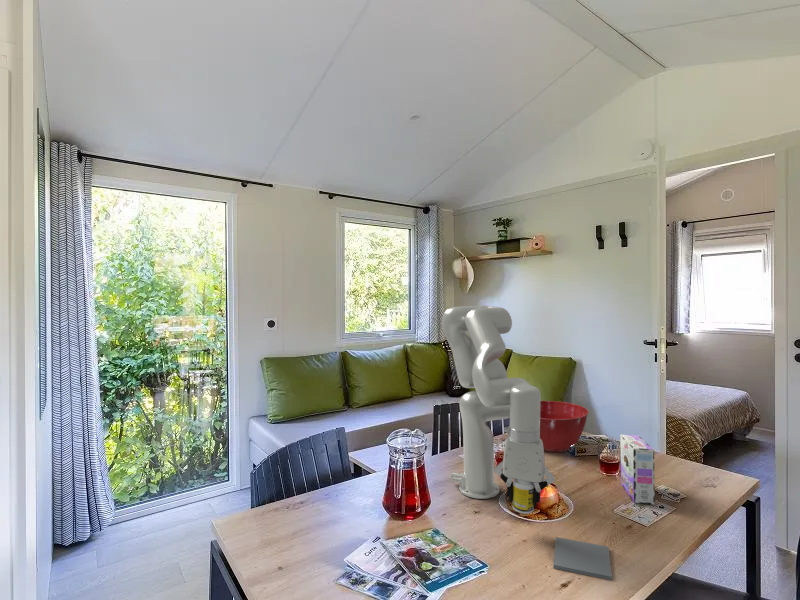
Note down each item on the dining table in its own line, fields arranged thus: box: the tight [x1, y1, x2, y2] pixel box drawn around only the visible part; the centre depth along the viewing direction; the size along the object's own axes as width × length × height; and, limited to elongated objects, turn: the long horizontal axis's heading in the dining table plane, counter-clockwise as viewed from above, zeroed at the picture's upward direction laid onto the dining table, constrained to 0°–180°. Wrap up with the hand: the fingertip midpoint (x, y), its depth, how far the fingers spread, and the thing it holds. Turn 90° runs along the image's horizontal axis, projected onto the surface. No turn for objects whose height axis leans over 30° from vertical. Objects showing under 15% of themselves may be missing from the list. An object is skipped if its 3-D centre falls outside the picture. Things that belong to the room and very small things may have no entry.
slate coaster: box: [552, 536, 613, 581], centre depth 102 cm, size 12×12×1 cm
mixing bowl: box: [540, 400, 589, 453], centre depth 176 cm, size 28×28×15 cm
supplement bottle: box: [511, 479, 535, 515], centre depth 113 cm, size 5×5×10 cm
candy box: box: [619, 434, 656, 506], centre depth 134 cm, size 14×6×16 cm, turn 168°
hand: (523, 501), depth 113 cm, fingers closed on supplement bottle, 5 cm apart
